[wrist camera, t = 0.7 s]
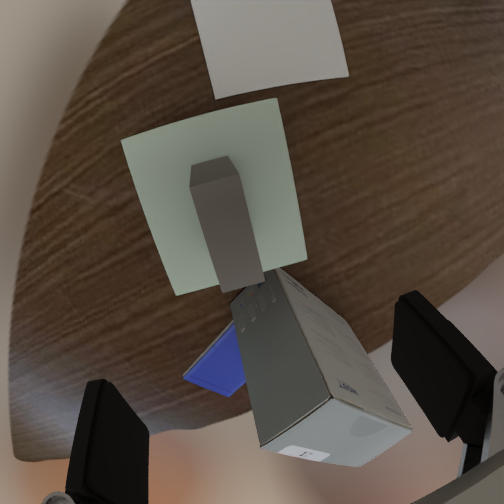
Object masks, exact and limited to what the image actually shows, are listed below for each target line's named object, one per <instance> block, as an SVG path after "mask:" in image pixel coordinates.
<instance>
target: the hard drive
mask: <svg viewBox="0 0 504 504" xmlns="http://www.w3.org/2000/svg"><path fill="white" fill-rule="evenodd" d="M183 378H184V379H185V380H187V381H190V382H192V383H194V384H197V385H199V386H202V387H204V388H207V389H209V390H212V391H214V392H217V393H219V394H222V395H225V396H227V397H230V396H231V395H232V394H233V393H234V392H235V391H236V390H237V389H238V388H240V387H241V386H242V385H243V384H244V383H245V382H246V379H245V374H244V369H243V365H242V360H241V355H240V350H239V346H238V341H237V336H236V331H235V326H234V321H233V320H232V321H231V322H230V323H229V324H228V326H227V327H226V328H225V329H224V330H223V331H222V332H221V333H220V334H219V336H218V337H217V338H216V339H215V340H214V341H213V342H212V343H211V344H210V345H209V347H208V348H207V349H206V350H205V351H204V352H203V353H202V354H201V355H200V356H199V358H198V359H197V360H196V361H195V362H194V363H193V364H192V365H191V366H190V367H189V368H188V370H187V371H186V372H185V373H184V374H183Z"/></svg>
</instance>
